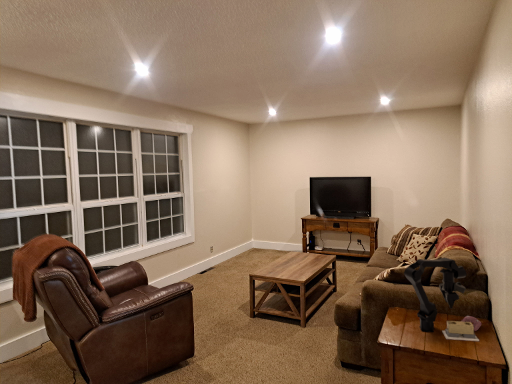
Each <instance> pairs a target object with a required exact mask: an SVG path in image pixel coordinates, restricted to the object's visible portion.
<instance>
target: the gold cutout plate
mask: <svg viewBox="0 0 512 384" xmlns="http://www.w3.org/2000/svg"><path fill="white" fill-rule="evenodd" d="M473 324H474V323H473V322H472V323H471V322H461V321H460V320H459V321H458V320H456V321H455V320H446V329H447V330H448V332H449V333H456V334H472V335H474V334H475V331H474V326H473Z"/></svg>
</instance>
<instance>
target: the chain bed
mask: <svg viewBox="0 0 512 384" xmlns="http://www.w3.org/2000/svg"><path fill="white" fill-rule="evenodd" d="M441 332H442V334H443V335H444V337H445V339H446V340H455V341H467V342H468V341H469V342H470V341H471V342H480V339H479V338H478V336H477V335H476V333H474V335H472V334H456V333H449V332H448V330H447V328H445V330H441Z"/></svg>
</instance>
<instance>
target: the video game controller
mask: <svg viewBox="0 0 512 384" xmlns="http://www.w3.org/2000/svg"><path fill="white" fill-rule="evenodd" d="M460 322H471V323H472V324H473V326H474V332H477V331H478V330H479V328H480V327H481V326H482V322H481V320H479V319H478V318H476V317H474V316H472V315H471V316H470V315H466V316H464V318H463V319H461V321H460Z"/></svg>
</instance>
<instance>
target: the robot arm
mask: <svg viewBox="0 0 512 384" xmlns="http://www.w3.org/2000/svg"><path fill="white" fill-rule="evenodd" d="M426 268H441V269H440V270H439V272H440V273H441V274H442V280H441V283H439V286H438V288H439V290H440V292H441V295H442V297H443V299H444V301H445V303H447V304H448V307H449V309H453V308H454V305H455V302H456V301H458V300H460V295H459V294H458V293H457V292H459V293H461V294H465V291H466V289H467V288H466V287H465V286H464V285H462V283H461V282H460V281H457V282H455V279H462V278H466V277H467V271H466V270H465V268H464V266H462V265H457V261H456V260H454V259H451V258H449V257H440V258H439V259H422V258H421V259H420V258H418V259H417V260H416V261H415V262H412V263H411V264H409V265H408V266H407V267H406V268H405V269H404V272H403V274H404V276H405V278H406V279H407V280H408V281H409V282H410V284H411V285H412V287H413V289H414V292H415V294H416V296H417V298H418V301H419V303H420V305H419V310H418V312H417V313H416V315H417V317H418V318H419V329H420V331H421V332H425V333H434V330H435V323H434V322H436V319H437V315H438V309H437V305H436V304H435V303H433V302H431V301H430V300H429V298H428V295H427V292H426V291H425V289H424V286H423V284H422V275H423V274H424V272H425V269H426Z"/></svg>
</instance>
